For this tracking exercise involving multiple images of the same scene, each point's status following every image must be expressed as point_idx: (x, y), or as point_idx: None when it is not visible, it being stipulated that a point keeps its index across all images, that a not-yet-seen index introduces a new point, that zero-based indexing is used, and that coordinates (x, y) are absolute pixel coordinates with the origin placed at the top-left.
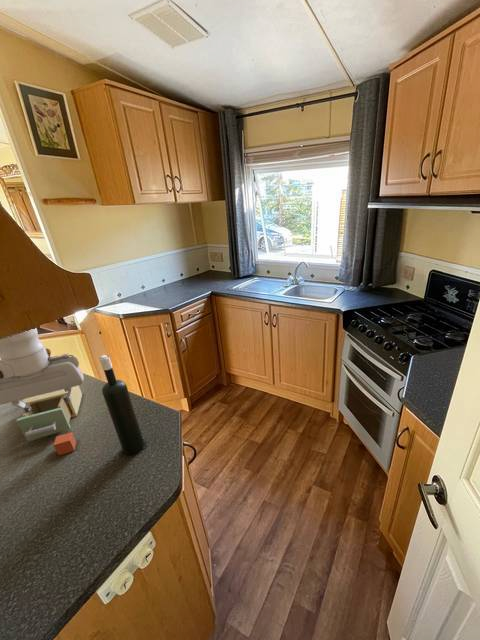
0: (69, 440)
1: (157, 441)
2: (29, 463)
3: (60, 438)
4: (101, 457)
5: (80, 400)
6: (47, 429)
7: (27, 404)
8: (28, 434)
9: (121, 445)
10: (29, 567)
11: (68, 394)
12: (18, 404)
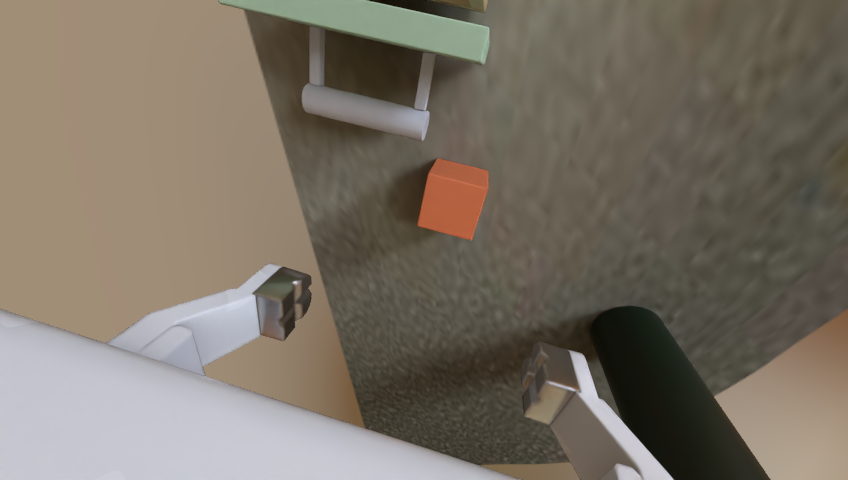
0: (469, 239)
1: (694, 354)
2: (346, 177)
3: (441, 202)
4: (533, 301)
5: None
6: (394, 133)
7: (268, 303)
8: (317, 114)
9: (600, 360)
10: (384, 415)
11: (580, 459)
12: (205, 360)
